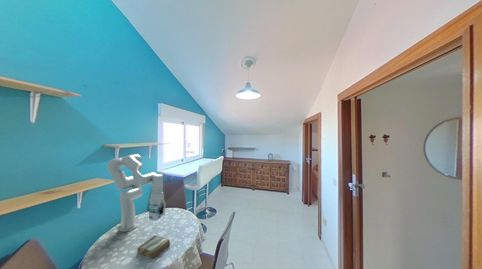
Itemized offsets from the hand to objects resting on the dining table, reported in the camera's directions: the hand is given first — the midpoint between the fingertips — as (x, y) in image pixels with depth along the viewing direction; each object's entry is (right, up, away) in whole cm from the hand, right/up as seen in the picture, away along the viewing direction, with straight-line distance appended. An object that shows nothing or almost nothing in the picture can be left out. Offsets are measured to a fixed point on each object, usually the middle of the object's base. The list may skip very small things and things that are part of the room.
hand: (157, 212), depth 132 cm
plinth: (+5, -18, -15) cm, 24 cm away
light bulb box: (0, -4, 0) cm, 4 cm away
